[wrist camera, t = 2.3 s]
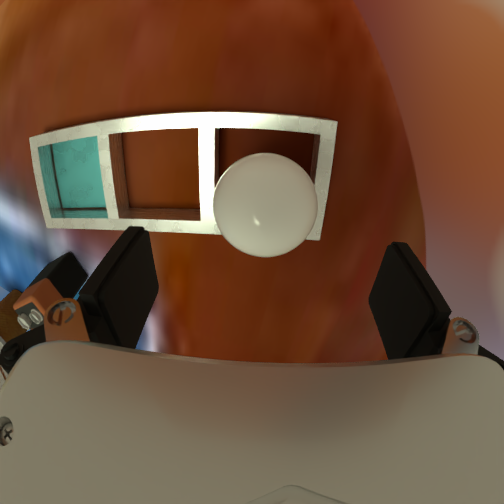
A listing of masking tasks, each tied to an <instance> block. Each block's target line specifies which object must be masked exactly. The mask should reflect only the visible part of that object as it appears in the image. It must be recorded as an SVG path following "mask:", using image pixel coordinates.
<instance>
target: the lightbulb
mask: <svg viewBox="0 0 504 504" xmlns="http://www.w3.org/2000/svg"><path fill="white" fill-rule="evenodd" d="M317 211H318V199H317V194H316V190H315V187H314V184H313V182H312V180H311V179H310V177H309V175H308V174H307V173H306V172H305V170H304V169H303V168H302V167H301V166H300V165H298V164H297V163H296V162H294V161H293V160H291V159H289V158H287V157H285V156H282V155H279V154H274V153H256V154H252V155H248V156H246V157H243V158H241V159H239V160H238V161H236V162H235V163H233V164H232V165H231V166H230V167H229V168H228V169H227V170H226V171H225V172H224V173H223V175H222V176H221V178H220V179H219V181H218V183H217V185H216V188H215V191H214V196H213V213H214V218H215V221H216V224H217V226H218V228H219V230H220V232H221V233H222V235H223V236H224V238H225V239H226V240H227V241H228V242H229V243H230V244H231V245H232V246H234V247H235V248H237V249H238V250H240V251H242V252H244V253H246V254H249V255H252V256H257V257H274V256H279V255H282V254H285V253H287V252H289V251H291V250H293V249H294V248H296V247H297V246H299V245H300V244H301V243H302V242H303V241H304V240H305V239H306V238H307V236H308V235H309V233H310V232H311V230H312V228H313V226H314V224H315V221H316V217H317Z"/></svg>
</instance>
